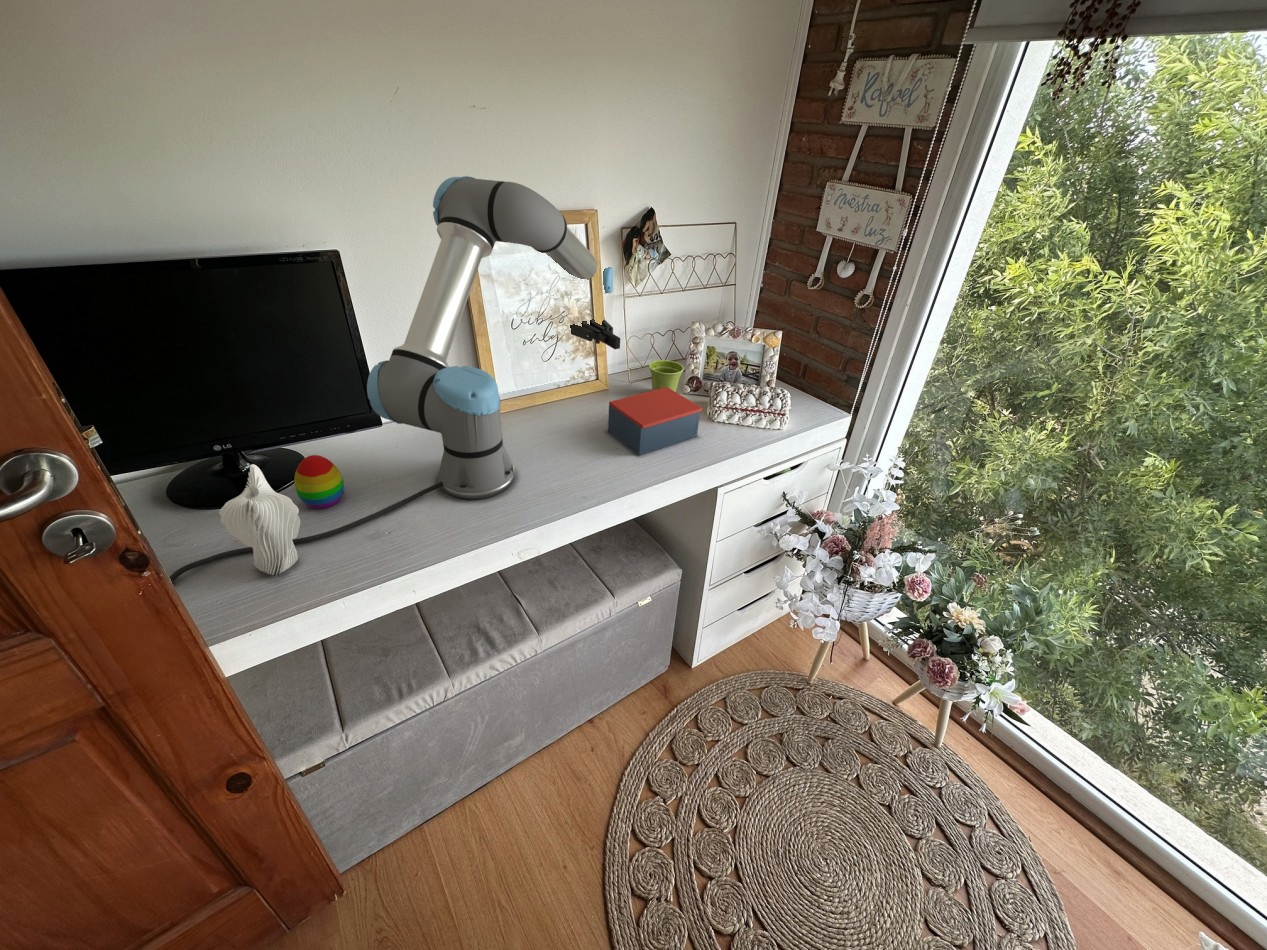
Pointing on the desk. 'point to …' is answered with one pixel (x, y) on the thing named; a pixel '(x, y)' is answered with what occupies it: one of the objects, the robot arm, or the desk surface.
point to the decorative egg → (318, 482)
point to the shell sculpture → (264, 523)
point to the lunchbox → (651, 431)
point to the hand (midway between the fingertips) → (617, 343)
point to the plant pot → (665, 374)
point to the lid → (655, 407)
